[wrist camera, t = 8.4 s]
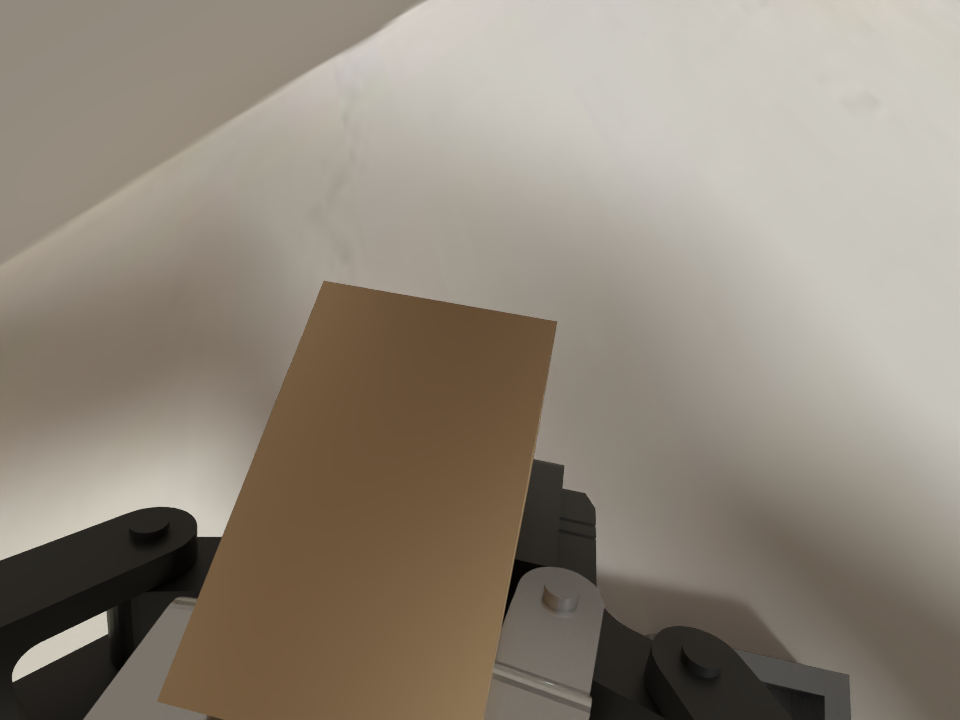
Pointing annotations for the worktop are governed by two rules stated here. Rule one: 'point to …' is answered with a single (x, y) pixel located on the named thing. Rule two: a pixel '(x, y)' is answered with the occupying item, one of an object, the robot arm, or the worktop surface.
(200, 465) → the worktop surface
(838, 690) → the endcap
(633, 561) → the worktop surface
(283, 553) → the slat
